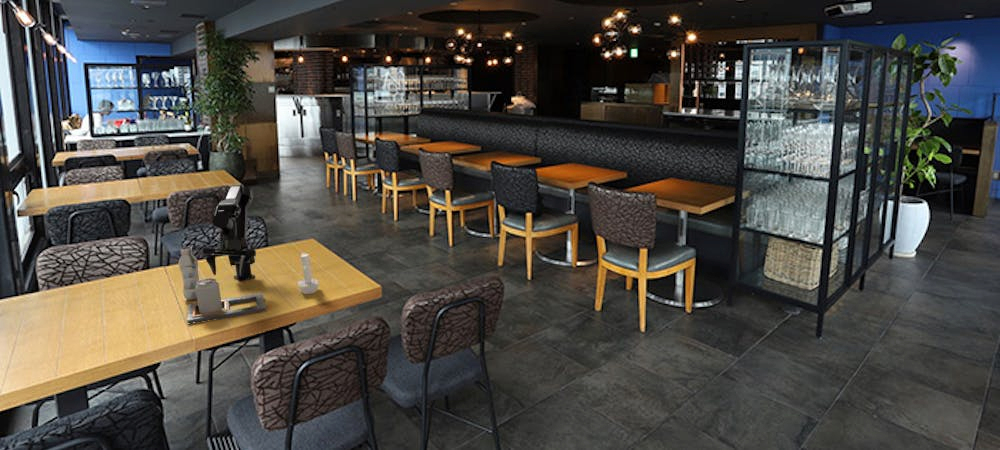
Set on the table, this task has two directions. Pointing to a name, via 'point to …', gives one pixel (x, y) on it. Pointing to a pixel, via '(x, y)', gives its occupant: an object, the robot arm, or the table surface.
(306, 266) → the figurine
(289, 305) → the table surface
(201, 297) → the can
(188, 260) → the plastic bottle
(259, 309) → the rail plate
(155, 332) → the table surface
